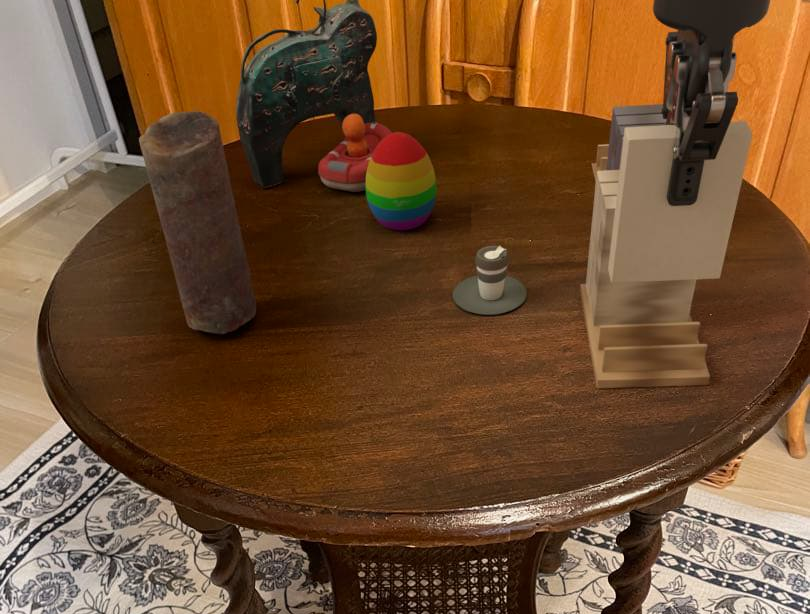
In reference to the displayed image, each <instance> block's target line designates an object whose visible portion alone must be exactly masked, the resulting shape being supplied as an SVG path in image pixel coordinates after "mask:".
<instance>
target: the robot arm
mask: <svg viewBox="0 0 810 614" xmlns="http://www.w3.org/2000/svg"><path fill="white" fill-rule="evenodd" d="M770 4H771V0H653V5H652V12H653V15H654V17H655V19H656V20H657V21H658V22H659V23H660V24H662V25H664V26H665V27H668V28H670V29H673V30H676V31H669V32H668V33H667V35H666V38H665V63H664V65H665V66H664V82H663V100H662V104H663V107H662V114H663V119H667V120H666V125H675V126H676V127H677V128H676V135H675V142H674V147H673V150H672V153H673V161H672V167H671V173H670V179H669V185H668V192H667V200H668V203H669V205H671V206H685V205H692V204H694V203H695V202H696V201H697V197H698V192H699V187H700V182H701V176H702V171H703V166H704V161H705V160H715V159H716V156H717V154H718V151H719V149H720V146H721V144H722V142H723V139H724V137H725V134H726V132H727V129H728V127H729V124H730V122H732V119H733V116H734V114H735V112H736V110H737V106H738V104H739V97H738V92H737V91H728V90H729V85H730V83H731V82H732V81H733V80H734V77H735V71H736V66H737V52H736V51H733V46H734V42H733V40H734V38H735V36H736V35H737V33H739V32H740V31H742V30H743V29H746V28H751V27H753V26H755V25H757V24H758V23H760V22H761V21H762V20H763V19H764V18H765V17H766V16H767V14H768V11H769V8H770Z"/></svg>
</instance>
